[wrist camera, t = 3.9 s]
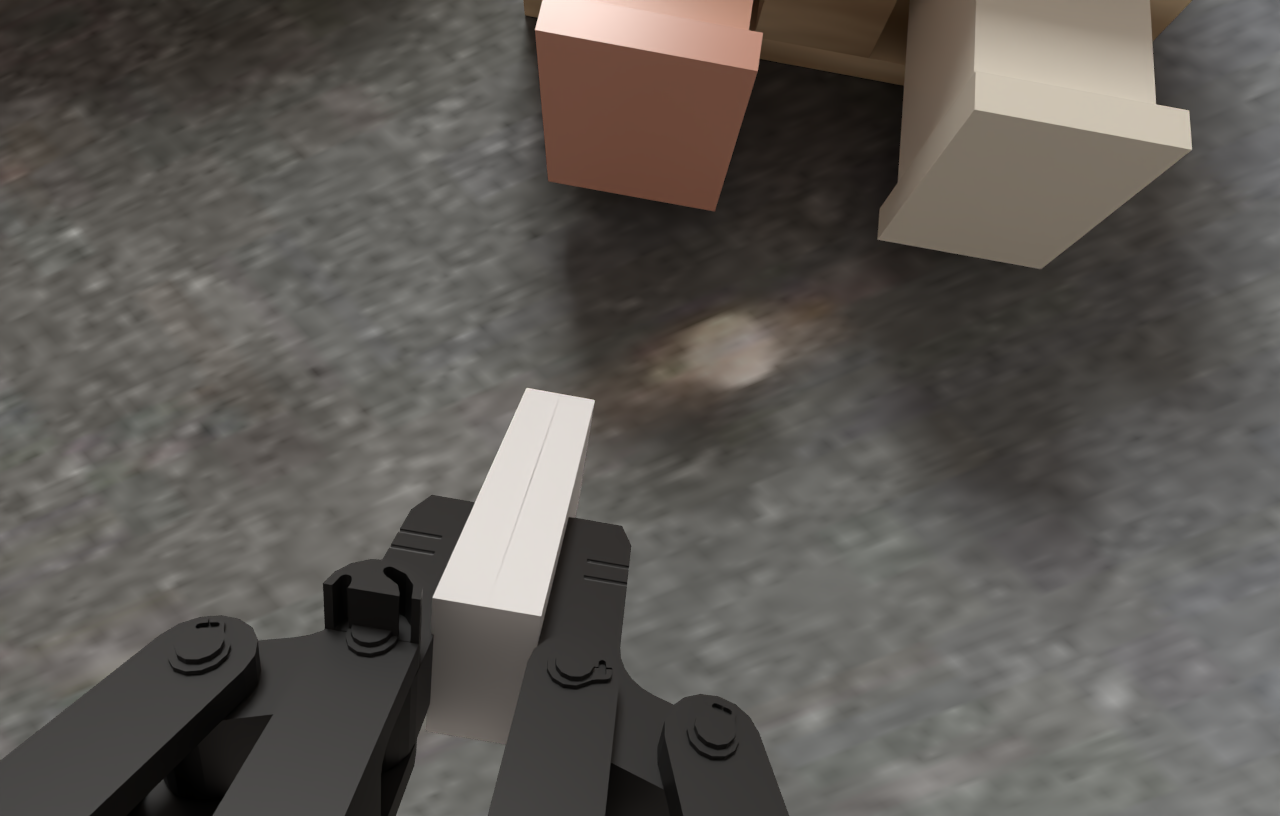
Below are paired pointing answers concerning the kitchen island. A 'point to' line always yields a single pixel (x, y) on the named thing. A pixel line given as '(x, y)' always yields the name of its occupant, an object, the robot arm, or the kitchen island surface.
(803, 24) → the wooden box
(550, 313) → the kitchen island surface
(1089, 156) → the cream plug
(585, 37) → the rust plug
